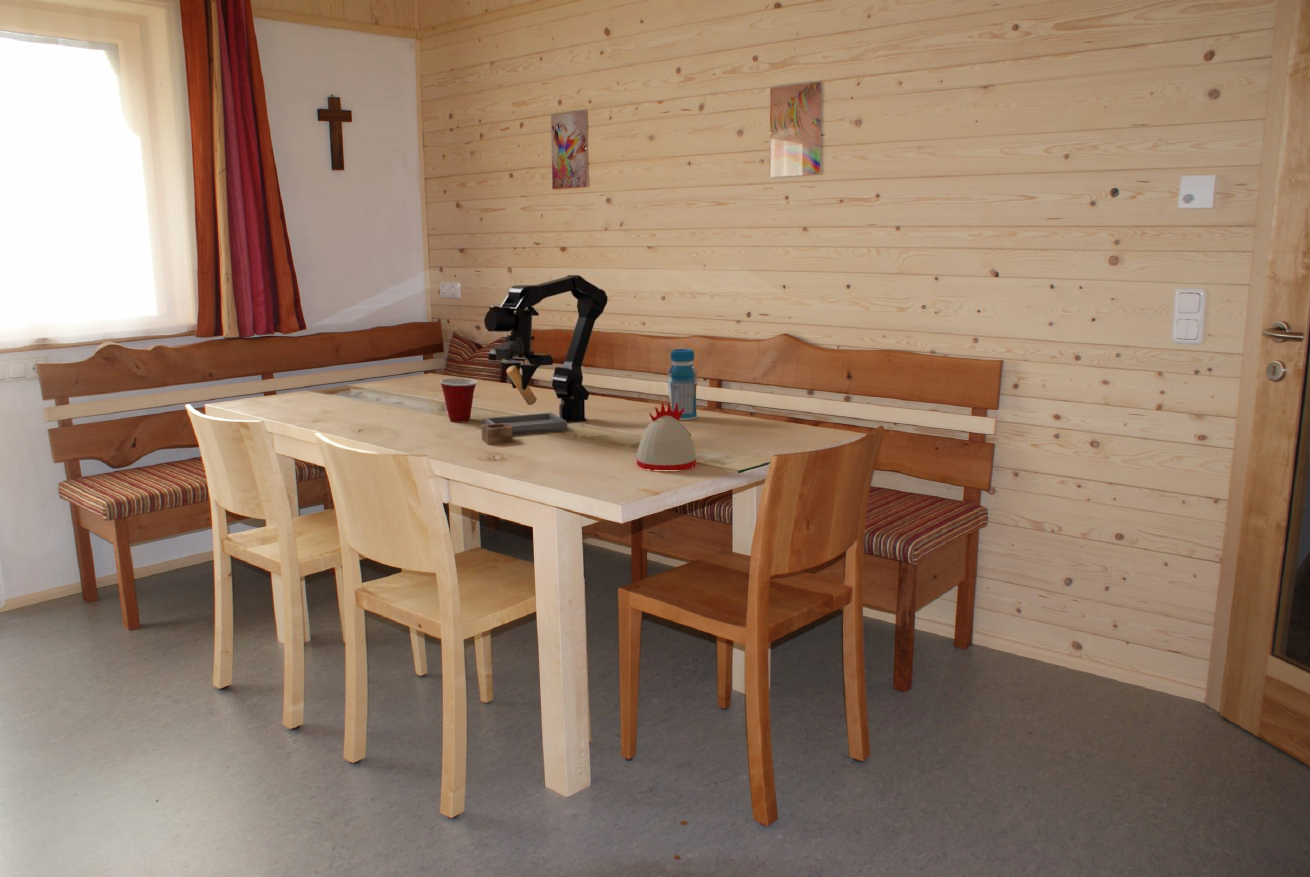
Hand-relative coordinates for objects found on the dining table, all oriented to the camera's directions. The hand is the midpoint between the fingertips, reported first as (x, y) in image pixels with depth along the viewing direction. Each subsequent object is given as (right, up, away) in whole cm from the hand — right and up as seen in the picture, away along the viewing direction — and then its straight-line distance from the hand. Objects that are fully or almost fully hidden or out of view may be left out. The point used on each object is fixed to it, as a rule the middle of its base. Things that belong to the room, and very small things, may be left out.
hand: (519, 388), depth 268 cm
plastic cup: (-19, -9, +17) cm, 27 cm away
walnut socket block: (-4, -14, -12) cm, 19 cm away
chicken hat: (+40, -20, -40) cm, 60 cm away
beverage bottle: (+46, -8, +16) cm, 49 cm away
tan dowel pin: (+3, -3, +5) cm, 7 cm away
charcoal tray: (+1, -11, +4) cm, 12 cm away
